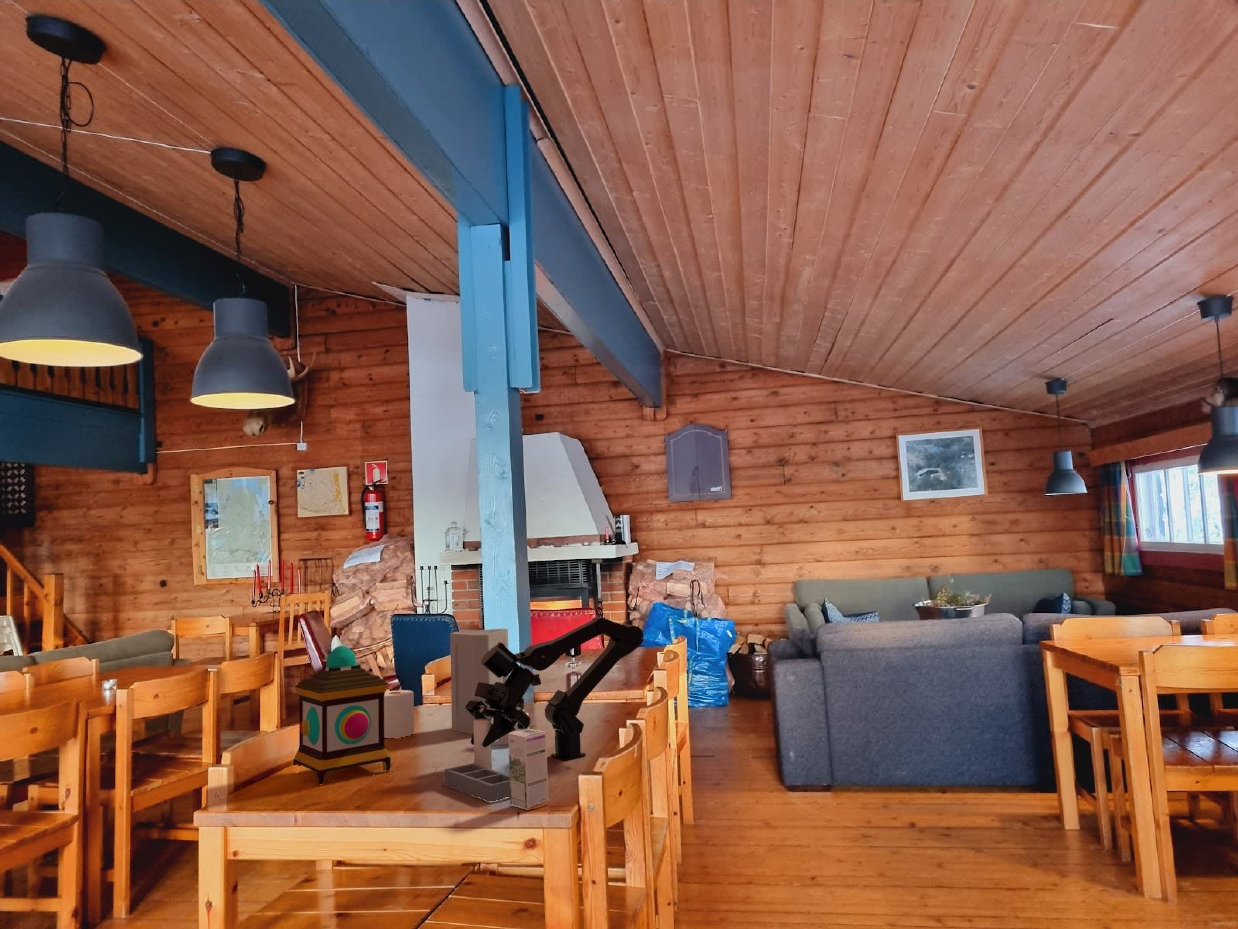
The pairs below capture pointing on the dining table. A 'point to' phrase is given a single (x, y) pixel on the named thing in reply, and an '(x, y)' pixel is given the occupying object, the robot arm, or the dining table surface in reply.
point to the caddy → (478, 781)
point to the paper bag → (471, 671)
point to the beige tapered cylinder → (481, 753)
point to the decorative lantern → (341, 717)
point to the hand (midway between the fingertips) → (477, 745)
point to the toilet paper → (398, 713)
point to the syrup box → (528, 767)
